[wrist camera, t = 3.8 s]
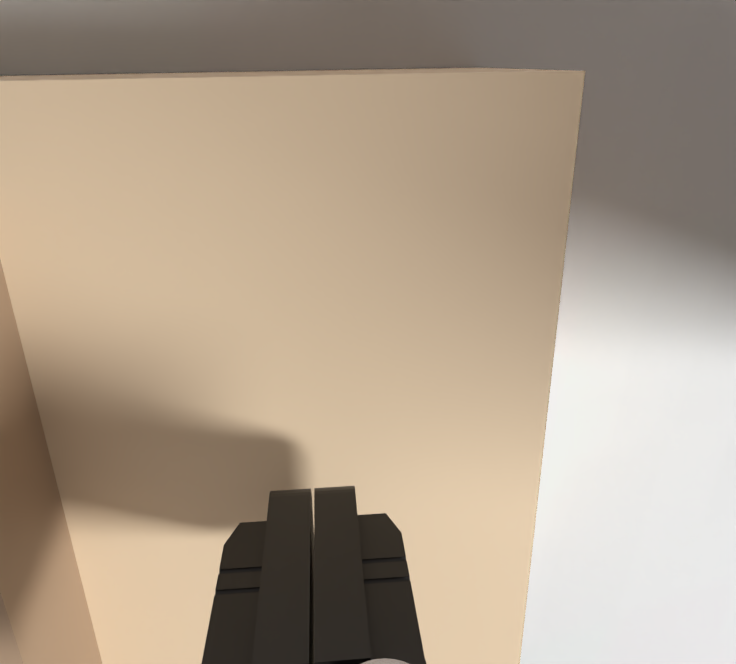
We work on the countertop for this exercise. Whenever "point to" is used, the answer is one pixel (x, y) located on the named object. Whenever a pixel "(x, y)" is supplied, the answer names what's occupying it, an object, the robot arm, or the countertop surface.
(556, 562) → the countertop surface
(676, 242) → the countertop surface
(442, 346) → the lid
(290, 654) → the robot arm
